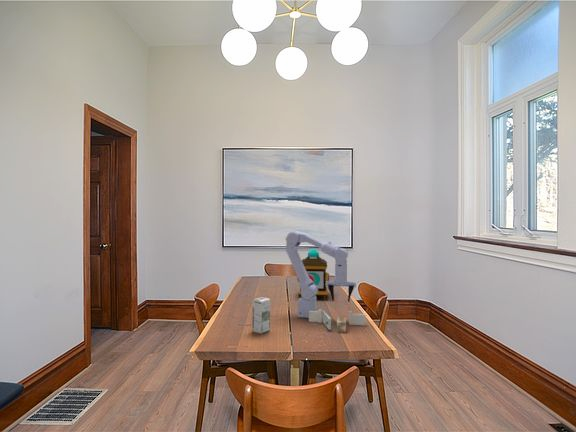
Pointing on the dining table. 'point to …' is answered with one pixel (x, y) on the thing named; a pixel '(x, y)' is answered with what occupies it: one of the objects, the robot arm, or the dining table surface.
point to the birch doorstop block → (341, 324)
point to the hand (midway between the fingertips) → (340, 300)
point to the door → (326, 320)
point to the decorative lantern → (316, 272)
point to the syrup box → (261, 315)
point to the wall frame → (353, 318)
